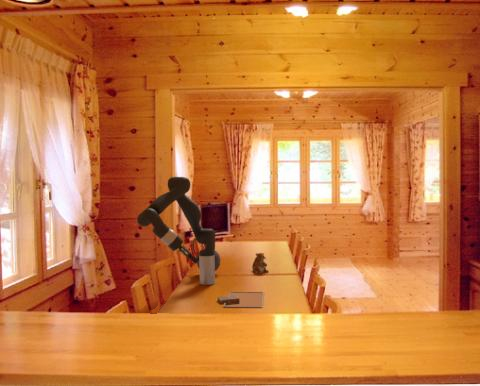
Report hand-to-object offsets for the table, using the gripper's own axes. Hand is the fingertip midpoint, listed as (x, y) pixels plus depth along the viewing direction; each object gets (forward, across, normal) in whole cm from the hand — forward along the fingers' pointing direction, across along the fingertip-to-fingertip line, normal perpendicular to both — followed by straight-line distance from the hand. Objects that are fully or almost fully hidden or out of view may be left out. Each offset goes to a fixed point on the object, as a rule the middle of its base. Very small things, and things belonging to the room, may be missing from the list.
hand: (196, 262), depth 213 cm
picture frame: (+33, -2, -2) cm, 33 cm away
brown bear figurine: (+54, +60, -22) cm, 84 cm away
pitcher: (+29, +64, +2) cm, 70 cm away
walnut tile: (+22, -1, +7) cm, 23 cm away
